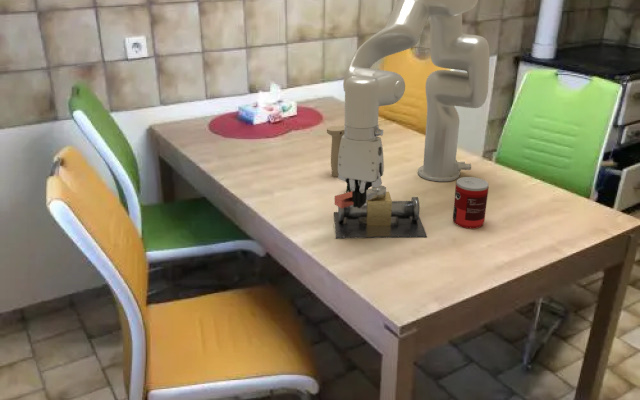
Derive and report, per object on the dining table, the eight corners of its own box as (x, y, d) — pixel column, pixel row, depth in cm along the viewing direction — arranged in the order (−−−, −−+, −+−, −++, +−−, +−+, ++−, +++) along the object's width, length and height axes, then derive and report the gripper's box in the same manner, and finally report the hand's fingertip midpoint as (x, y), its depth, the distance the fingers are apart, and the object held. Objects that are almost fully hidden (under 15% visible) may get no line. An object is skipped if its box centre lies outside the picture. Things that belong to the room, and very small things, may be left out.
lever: (379, 191, 150) (380, 182, 149) (388, 196, 147) (389, 187, 146) (333, 204, 143) (333, 195, 142) (342, 209, 140) (342, 200, 139)
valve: (417, 212, 155) (418, 188, 153) (426, 237, 143) (428, 211, 140) (333, 213, 155) (334, 189, 152) (336, 238, 142) (336, 212, 140)
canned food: (460, 213, 155) (464, 174, 151) (489, 221, 151) (494, 181, 146) (446, 223, 150) (450, 183, 145) (475, 232, 145) (480, 191, 141)
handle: (350, 176, 179) (350, 129, 173) (330, 179, 177) (331, 131, 171) (343, 171, 183) (343, 124, 177) (324, 174, 181) (324, 127, 175)
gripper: (398, 131, 133) (394, 205, 141) (338, 123, 139) (337, 194, 147) (385, 141, 127) (382, 217, 134) (324, 131, 133) (324, 205, 141)
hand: (359, 205), depth 141 cm, fingers closed
